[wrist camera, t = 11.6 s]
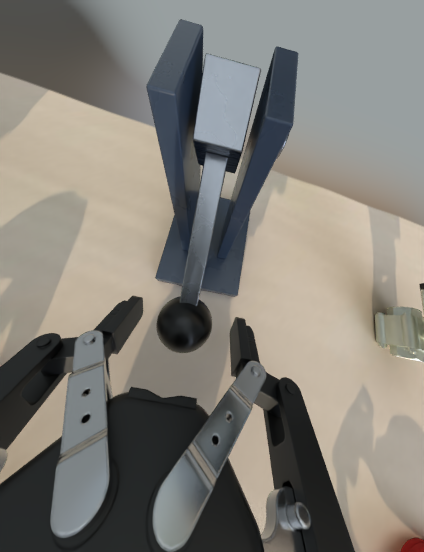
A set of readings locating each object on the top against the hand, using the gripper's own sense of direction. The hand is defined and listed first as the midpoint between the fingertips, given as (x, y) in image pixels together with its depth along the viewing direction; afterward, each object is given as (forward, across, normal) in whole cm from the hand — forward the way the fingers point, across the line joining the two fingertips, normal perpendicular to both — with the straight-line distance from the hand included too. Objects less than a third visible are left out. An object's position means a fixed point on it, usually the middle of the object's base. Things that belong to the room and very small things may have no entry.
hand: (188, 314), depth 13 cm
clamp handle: (+1, 0, -6) cm, 6 cm away
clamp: (+9, 0, -4) cm, 10 cm away
